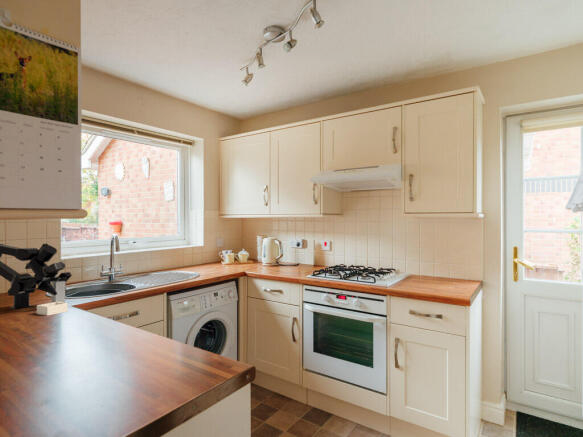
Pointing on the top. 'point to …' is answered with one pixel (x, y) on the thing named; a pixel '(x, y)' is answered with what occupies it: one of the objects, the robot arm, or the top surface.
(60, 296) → the grey rectangular block
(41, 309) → the cream square block
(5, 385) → the top surface
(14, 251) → the robot arm
